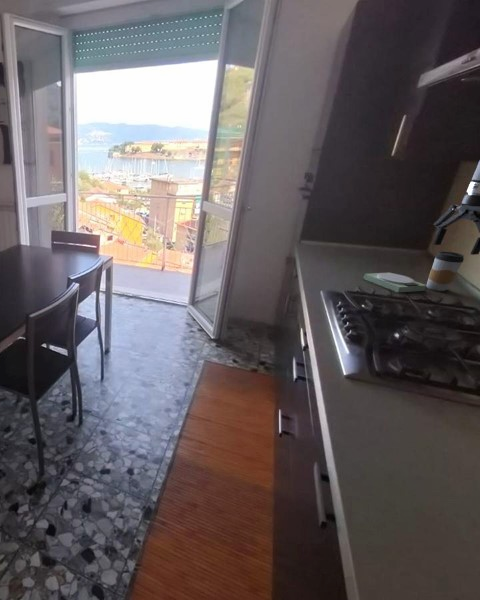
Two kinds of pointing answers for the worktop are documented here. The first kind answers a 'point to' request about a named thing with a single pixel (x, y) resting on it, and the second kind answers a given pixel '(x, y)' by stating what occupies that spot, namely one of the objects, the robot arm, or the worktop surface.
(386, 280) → the kitchen scale
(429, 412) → the worktop surface
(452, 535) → the worktop surface
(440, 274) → the coffee cup
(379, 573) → the worktop surface
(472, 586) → the worktop surface
